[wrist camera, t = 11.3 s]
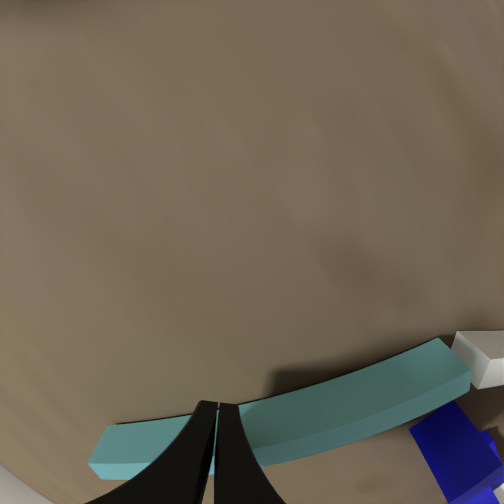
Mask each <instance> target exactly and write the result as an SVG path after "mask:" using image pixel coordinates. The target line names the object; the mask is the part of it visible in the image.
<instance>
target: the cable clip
mask: <svg viewBox="0 0 504 504" xmlns="http://www.w3.org/2000/svg"><path fill="white" fill-rule="evenodd" d="M409 430H410V432H411V434H412V436H413V438H414V439H415V441H416V443H417V445H418V447H419V449H420V450H421V452H422V454H423V456H424V458H425V460H426V461H427V463H428V465H429V467H430V469H431V471H432V473H433V475H434V476H435V478H436V480H437V482H438V484H439V486H440V488H441V490H442V492H443V494H444V496H445V498H446V500H447V502H448V504H500V503H499V501H498V499H497V497H496V496H495V494H494V492H493V491H494V490H496V489H497V488H498V487H499V486H501V485H502V484H503V483H504V466H503V464H502V462H501V460H500V457H499V455H498V452H497V450H496V446H495V443H494V440H493V439H492V437H491V436H490V435H489V433H488V432H487V431H486V430H483V431H482V432H481V433H479V432H478V430H477V429H476V428H475V426H474V425H473V424H472V423H471V421H470V420H469V419H468V417H467V416H466V415H465V414H464V412H463V411H462V410H461V409H460V407H459V406H458V405H457V404H456V402H455V401H454V400H452V401H450V402H448V403H446V404H444V405H443V406H441V407H440V408H439V409H437V410H436V411H435V412H433V413H432V414H430V415H429V416H427V417H426V418H425V419H423V420H422V421H420V422H419V423H417V424H416V425H414V426H413V427H411V428H410V429H409Z"/></svg>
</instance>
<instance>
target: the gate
mask: <svg viewBox="0 0 504 504" xmlns="http://www.w3.org/2000/svg"><path fill="white" fill-rule="evenodd" d="M470 380H471V369H470V368H469V367H468V366H467V365H466V364H465V363H464V362H463V361H462V360H461V359H460V358H459V357H458V356H457V355H456V354H455V353H454V352H453V351H452V350H451V349H450V348H449V347H448V346H447V345H445V344H444V343H443V342H442V341H441V340H440V339H439V338H436V339H434V340H431V341H429V342H427V343H425V344H423V345H420V346H418V347H416V348H413V349H411V350H409V351H406V352H404V353H402V354H399V355H397V356H394V357H392V358H390V359H387V360H384V361H382V362H379V363H377V364H374V365H372V366H369V367H366V368H364V369H361V370H358V371H355V372H352V373H350V374H347V375H344V376H341V377H338V378H335V379H332V380H329V381H326V382H323V383H320V384H316V385H313V386H310V387H307V388H303V389H300V390H296V391H293V392H289V393H286V394H282V395H279V396H275V397H271V398H267V399H263V400H259V401H255V402H251V403H247V404H243V405H238V406H239V411H240V417H241V421H242V425H243V428H244V431H245V434H246V437H247V440H248V442H249V445H250V447H251V449H252V452H253V454H254V456H255V458H256V460H257V462H258V464H259V466H260V467H263V466H268V465H273V464H277V463H282V462H286V461H290V460H295V459H299V458H302V457H306V456H310V455H314V454H317V453H321V452H324V451H328V450H331V449H334V448H338V447H341V446H344V445H347V444H350V443H353V442H356V441H359V440H362V439H365V438H367V437H370V436H373V435H376V434H378V433H381V432H383V431H386V430H388V429H391V428H393V427H396V426H398V425H401V424H403V423H405V422H408V421H410V420H412V419H415V418H417V417H419V416H421V415H423V414H426V413H428V412H430V411H432V410H434V409H436V408H438V407H440V406H442V405H444V404H446V403H448V402H450V401H452V400H454V399H456V398H457V397H459V396H461V395H463V394H465V393H467V392H468V391H470ZM218 412H219V410H217V420H216V432H215V442H214V450H213V458H212V463H211V467H210V471H209V475H213V474H214V457H215V445H216V433H217V421H218ZM190 417H191V415H188V416H182V417H175V418H169V419H162V420H155V421H147V422H139V423H130V424H120V425H108V426H107V427H106V429H105V431H104V433H103V435H102V437H101V438H100V440H99V442H98V444H97V446H96V448H95V450H94V452H93V454H92V455H91V457H90V459H89V461H88V463H87V464H88V465H89V466H90V467H91V468H92V469H93V470H94V472H95V473H96V474H97V475H98V476H99V477H100V478H101V479H117V480H130V479H131V478H133V477H134V476H135V475H137V474H138V473H139V472H141V471H142V470H143V469H144V468H146V467H147V466H148V465H149V464H150V463H151V462H153V461H154V460H155V459H156V458H157V457H158V456H159V455H160V454H161V453H162V452H163V451H164V450H165V449H166V448H167V447H168V445H169V444H170V443H171V442H172V441H173V440H174V439H175V438H176V436H177V435H178V434H179V432H180V431H181V430H182V428H183V427H184V426H185V424H186V423H187V421H188V420H189V418H190Z"/></svg>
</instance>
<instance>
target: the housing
mask: <svg viewBox="0 0 504 504" xmlns="http://www.w3.org/2000/svg"><path fill="white" fill-rule="evenodd" d="M451 350H452V351H453V352H454V353H455V354H456V355H457V356H458V357H459V358H460V359H461V360H462V361H463V362H464V363H465V364H466V365H467V366H468V367H469V368H470V369H471V380H470V382H471V383H472V384H473V385H474V386H475V387H476V388H477V389H482V388H489V387H494V386H500V385H504V330H503V331H457V332H456V335H455V338H454V341H453V344H452V347H451ZM493 492H494V494H495V496H496V497H497V499H498V501H499V503H500V504H504V483H503V484H502V485H501V486H499V487H498V488H497V489H496V490H494V491H493Z"/></svg>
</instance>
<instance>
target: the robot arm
mask: <svg viewBox="0 0 504 504" xmlns="http://www.w3.org/2000/svg"><path fill="white" fill-rule="evenodd" d="M217 408H218V402H212V401H204V400H201V401H199V402H198V404H197V406H196V408H195V410H194V412H193V414H192V415H191V417H190V418H189V420H188V421H187V423H186V424H185V426H184V427H183V428H182V430H181V431H180V432H179V434H178V435H177V436H176V438H175V439H174V440H173V441H172V442H171V443H170V444H169V445H168V447H167V448H166V449H165V450H164V451H163V452H162V453H161V454H160V455H159V456H158V457H157V458H156V459H155V460H154V461H153V462H151V463H150V464H149V465H148V466H147V467H146V468H144V469H143V470H142V471H141V472H139V473H138V474H137V475H135V476H134V477H133V478H131V479H130V480H128V481H127V482H125V483H124V484H122V485H120V486H119V487H117V488H115V489H114V490H112V491H110V492H109V493H107V494H105V495H103V496H100V497H98V498H96V499H94V500H92V501H89V502H87V503H85V504H202V500H203V496H204V492H205V488H206V484H207V480H208V476H209V471H210V467H211V463H212V458H213V450H214V442H215V432H216V420H217ZM214 504H286V503H285V502H284V501H283V500H282V498H281V497H280V496H279V495H278V494H277V492H276V491H275V489H274V488H273V487H272V485H271V484H270V482H269V481H268V479H267V478H266V476H265V474H264V473H263V471H262V469H261V468H260V466H259V464H258V462H257V460H256V458H255V456H254V454H253V452H252V449H251V447H250V445H249V442H248V440H247V437H246V434H245V431H244V428H243V425H242V421H241V417H240V411H239V406H238V405H237V404H228V403H220V406H219V412H218V421H217V433H216V445H215V457H214Z"/></svg>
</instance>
